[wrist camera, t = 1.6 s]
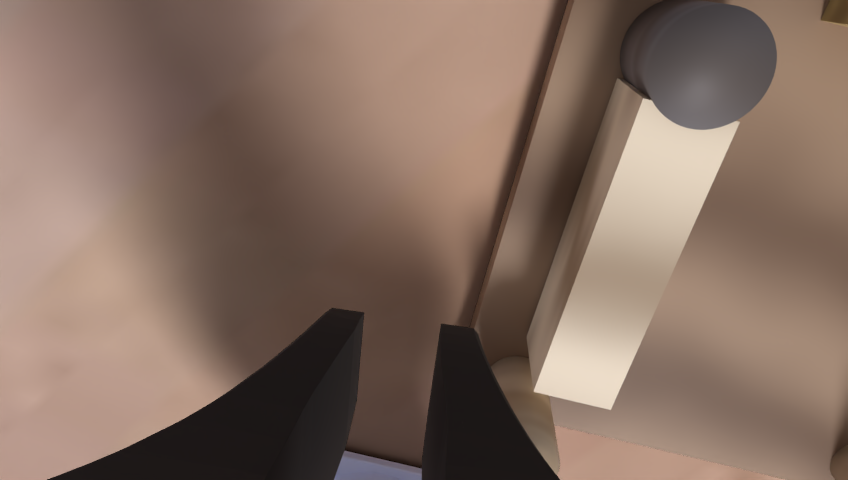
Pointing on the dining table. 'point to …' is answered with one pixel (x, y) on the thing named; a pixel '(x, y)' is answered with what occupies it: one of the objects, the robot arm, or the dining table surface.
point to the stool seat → (702, 260)
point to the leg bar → (644, 189)
